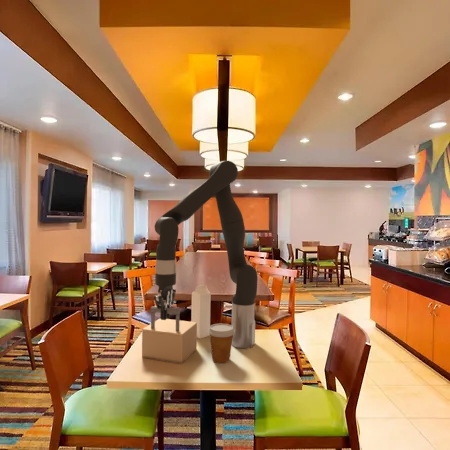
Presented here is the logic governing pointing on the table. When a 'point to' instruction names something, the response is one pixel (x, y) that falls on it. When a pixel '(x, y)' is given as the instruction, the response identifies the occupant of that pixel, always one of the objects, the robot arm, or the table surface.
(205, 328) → the milk
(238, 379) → the table surface
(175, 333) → the carton flap
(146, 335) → the carton
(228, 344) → the disposable coffee cup
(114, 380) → the table surface
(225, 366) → the table surface
